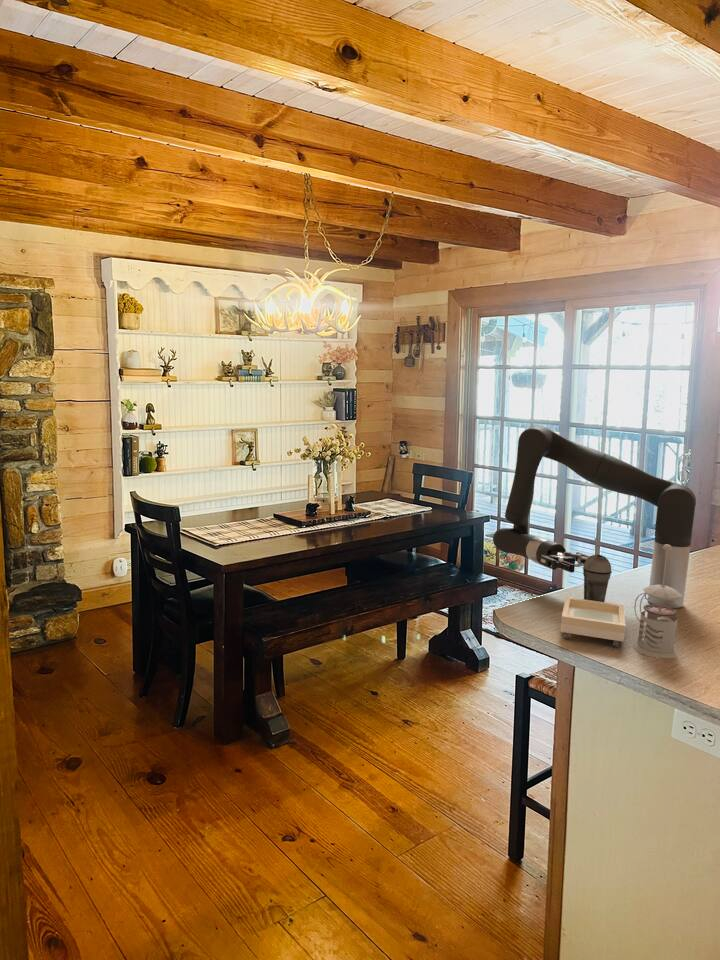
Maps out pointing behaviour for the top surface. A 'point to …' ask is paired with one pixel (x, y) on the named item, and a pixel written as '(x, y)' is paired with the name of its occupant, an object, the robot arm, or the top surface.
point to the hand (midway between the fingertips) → (585, 567)
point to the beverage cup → (596, 576)
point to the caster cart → (593, 619)
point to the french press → (658, 622)
